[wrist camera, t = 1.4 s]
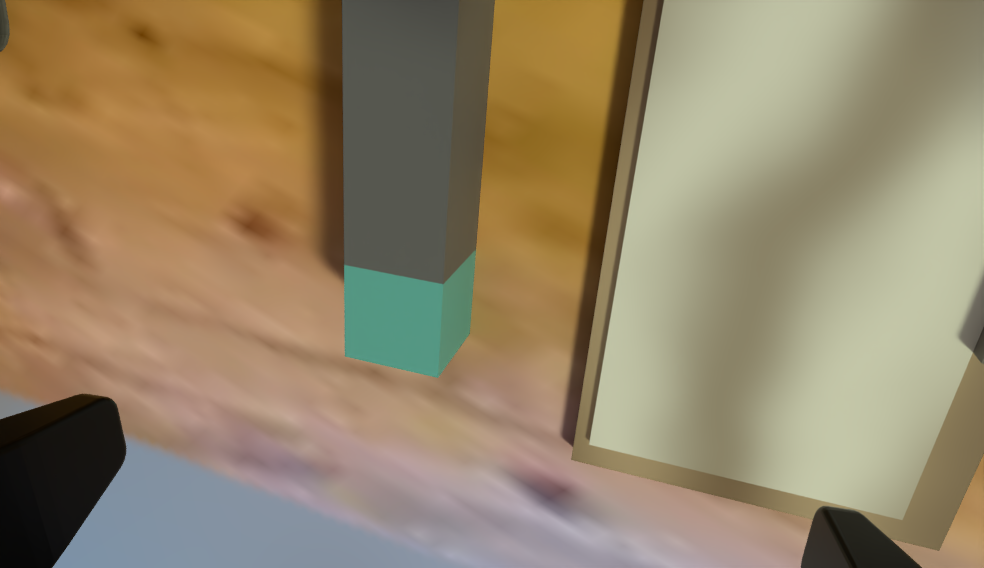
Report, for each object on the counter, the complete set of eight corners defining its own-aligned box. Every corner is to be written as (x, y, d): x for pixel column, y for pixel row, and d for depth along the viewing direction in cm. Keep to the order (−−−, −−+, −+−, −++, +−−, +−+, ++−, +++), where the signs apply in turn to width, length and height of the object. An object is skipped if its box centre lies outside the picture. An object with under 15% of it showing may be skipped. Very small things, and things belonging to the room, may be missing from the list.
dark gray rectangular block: (500, -73, 18) (464, -87, 15) (469, 333, 23) (438, 377, 20) (394, -81, 18) (341, -95, 16) (386, 315, 23) (344, 356, 21)
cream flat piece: (1277, -230, 13) (1339, -255, 12) (933, 536, 21) (947, 571, 19) (682, -236, 15) (680, -258, 14) (574, 449, 23) (566, 474, 22)
